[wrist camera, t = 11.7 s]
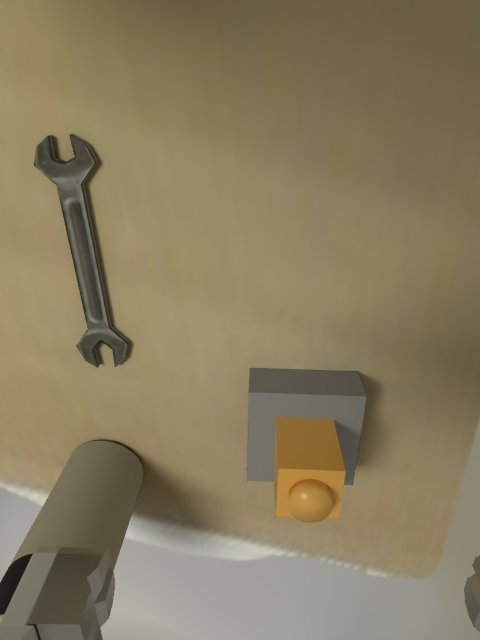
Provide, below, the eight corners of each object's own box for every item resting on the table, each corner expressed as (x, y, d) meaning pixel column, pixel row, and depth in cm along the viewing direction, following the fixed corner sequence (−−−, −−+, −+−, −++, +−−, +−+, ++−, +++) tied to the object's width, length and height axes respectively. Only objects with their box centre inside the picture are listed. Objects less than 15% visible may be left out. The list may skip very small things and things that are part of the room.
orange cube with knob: (273, 461, 41) (275, 529, 34) (276, 417, 39) (279, 480, 32) (328, 463, 41) (340, 532, 34) (333, 419, 39) (348, 483, 32)
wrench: (135, 361, 42) (97, 132, 34) (129, 370, 41) (87, 133, 32) (87, 359, 43) (38, 135, 35) (79, 368, 41) (25, 136, 33)
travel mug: (55, 454, 47) (-54, 634, 31) (116, 427, 45) (34, 604, 29) (99, 504, 50) (20, 693, 34) (158, 480, 48) (105, 669, 32)
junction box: (248, 451, 46) (245, 519, 38) (249, 368, 41) (247, 425, 34) (345, 455, 45) (362, 525, 38) (357, 371, 41) (379, 430, 33)
